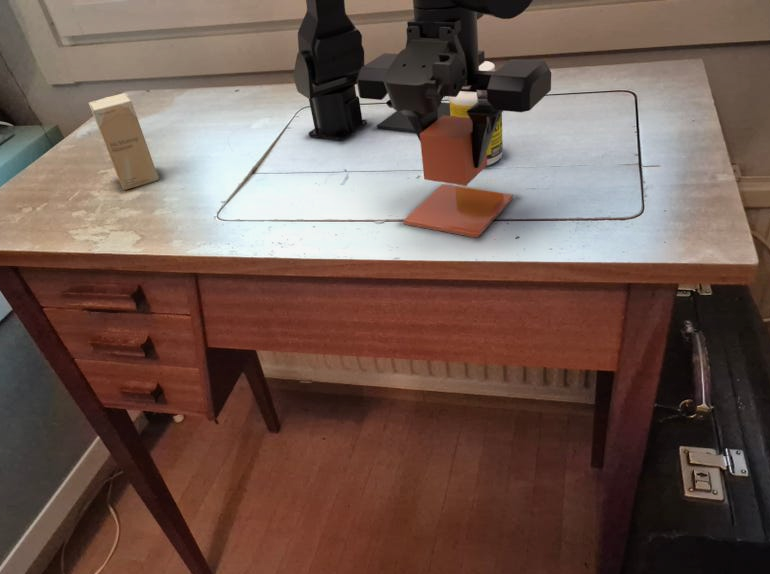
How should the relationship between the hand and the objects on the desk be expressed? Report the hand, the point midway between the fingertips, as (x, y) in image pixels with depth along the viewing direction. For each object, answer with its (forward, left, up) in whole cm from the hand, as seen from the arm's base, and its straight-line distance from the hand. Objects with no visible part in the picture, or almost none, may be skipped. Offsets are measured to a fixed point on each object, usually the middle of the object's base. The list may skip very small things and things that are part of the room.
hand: (455, 163), depth 70 cm
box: (-47, -6, -6) cm, 48 cm away
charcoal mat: (-18, +23, -6) cm, 30 cm away
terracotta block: (0, 0, -1) cm, 1 cm away
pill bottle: (-4, +13, -6) cm, 15 cm away
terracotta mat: (0, 0, -6) cm, 6 cm away
